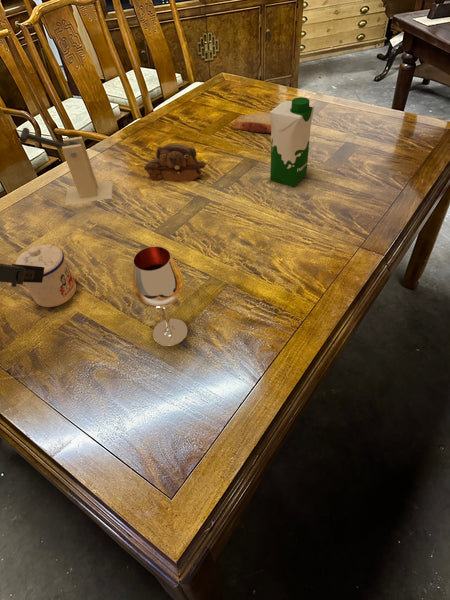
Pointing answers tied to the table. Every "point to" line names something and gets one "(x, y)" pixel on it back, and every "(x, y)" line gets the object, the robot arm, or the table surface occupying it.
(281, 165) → the milk carton
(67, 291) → the teacup with lid
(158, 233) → the table surface
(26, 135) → the lever
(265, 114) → the slice of bread
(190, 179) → the wooden carving
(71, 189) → the tan upright plank
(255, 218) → the table surface
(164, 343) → the wineglass
